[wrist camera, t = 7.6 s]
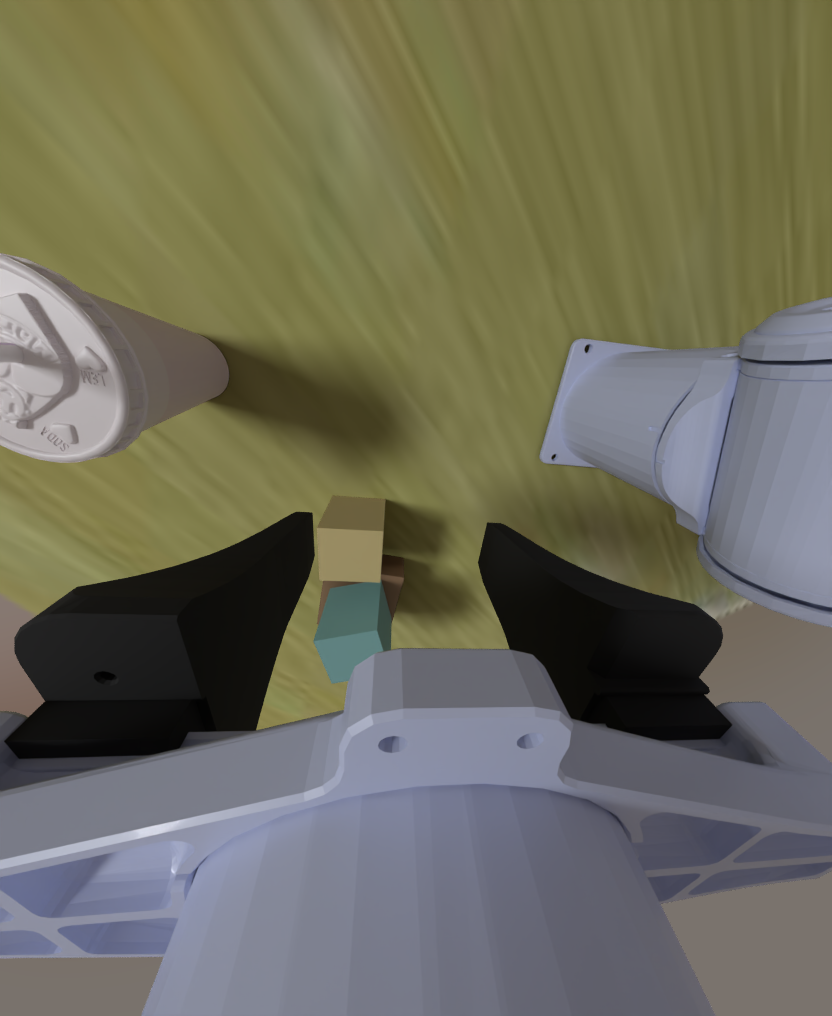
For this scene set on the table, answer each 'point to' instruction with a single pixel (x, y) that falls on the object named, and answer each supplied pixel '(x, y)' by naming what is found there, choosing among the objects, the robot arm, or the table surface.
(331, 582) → the walnut slab
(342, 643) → the teal block
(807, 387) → the robot arm
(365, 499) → the mustard block
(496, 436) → the table surface
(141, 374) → the smoothie
